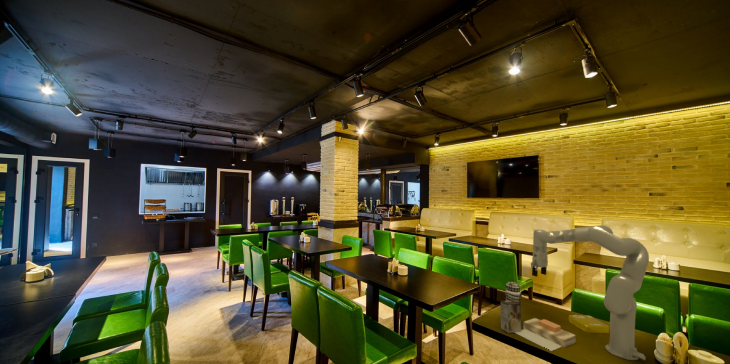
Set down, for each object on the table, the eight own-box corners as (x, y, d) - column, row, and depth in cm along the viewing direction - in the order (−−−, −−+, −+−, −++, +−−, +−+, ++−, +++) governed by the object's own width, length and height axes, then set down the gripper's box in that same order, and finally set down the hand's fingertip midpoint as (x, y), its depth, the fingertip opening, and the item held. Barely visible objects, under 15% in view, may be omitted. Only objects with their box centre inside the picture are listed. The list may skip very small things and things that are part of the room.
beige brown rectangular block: (575, 342, 153) (575, 335, 153) (563, 347, 147) (564, 340, 147) (534, 324, 172) (535, 317, 172) (523, 328, 166) (523, 321, 166)
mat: (561, 346, 148) (561, 346, 148) (551, 351, 143) (551, 350, 143) (524, 329, 165) (524, 328, 165) (514, 332, 160) (514, 332, 160)
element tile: (586, 333, 164) (586, 325, 164) (567, 321, 179) (567, 313, 179) (610, 334, 165) (611, 325, 165) (589, 321, 180) (589, 314, 180)
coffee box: (512, 326, 168) (512, 299, 169) (521, 331, 162) (521, 303, 163) (500, 328, 165) (500, 300, 166) (508, 333, 159) (508, 304, 160)
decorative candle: (523, 327, 168) (524, 285, 168) (508, 326, 168) (509, 285, 168) (515, 320, 177) (517, 280, 177) (501, 319, 177) (502, 280, 177)
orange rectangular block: (560, 330, 157) (560, 326, 157) (555, 332, 155) (555, 328, 155) (544, 323, 165) (544, 319, 165) (538, 325, 162) (538, 321, 162)
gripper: (537, 251, 173) (537, 278, 173) (553, 249, 181) (552, 275, 181) (526, 248, 180) (525, 275, 179) (541, 246, 188) (540, 272, 187)
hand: (539, 275), depth 180 cm, fingers open, 9 cm apart
